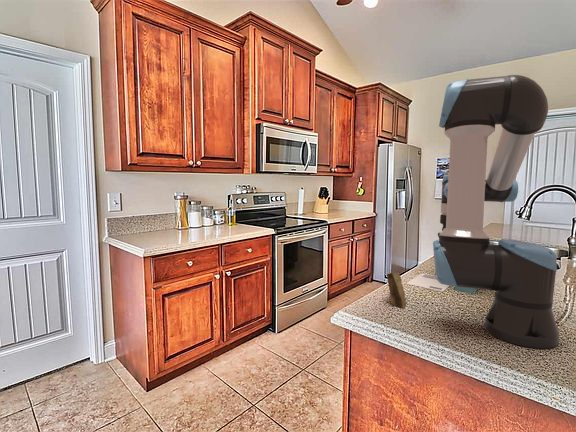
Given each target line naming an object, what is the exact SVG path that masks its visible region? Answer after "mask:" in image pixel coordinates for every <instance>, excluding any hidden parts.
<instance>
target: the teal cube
mask: <svg viewBox="0 0 576 432" xmlns="http://www.w3.org/2000/svg"><path fill="white" fill-rule="evenodd" d="M454 291H456V292H457V291H458V292H462V293H467V294H471V295H472V294H473V295H475V293H476V292H477V291H478V289H474V288H466V287H455V286H454Z"/></svg>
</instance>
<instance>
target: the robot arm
mask: <svg viewBox="0 0 576 432" xmlns="http://www.w3.org/2000/svg"><path fill="white" fill-rule="evenodd" d="M443 98H444V99H443V103H442V108H441V114H440V119H439V123H438V128H439V127H440V128H441V129H444V135H445V136H446V137H447V138H448V139H449V140H450V141H449V157H448V158H449V160H448V174H444V175H443V177H442V181H441V203H440V213H441V214H440V216H439V217H440V218H439V223H440V224H441V225H442V228H441V231H440V232H438V233H437V237H438V239H435V240H434V241H433V242H432V248H433V262H434V269H435V271H434V272H435V276H436V278H437V280H438V282H439V283H441V284H444V285H450V286H451V287H454V288H455V287H466V288H474V289H477V290H485V291H494V300H493V302H492V304H491V306H490V307H489V309H488V311H487V314H486V315H485V319H484V328H485V330H486V331H487V332H488V333H490V335H492V336H494V337H496V338H497V339H500V340H501V341H504V342H507V343H511V344H513V345H517V346H522V347H526V348H532V349H553V348H555V347H557V346H558V345H559V340H560V332H559V329H558V325H557V322H556V319H555V316H554V312H553V305H554V303H553V301H554V292H555V286H556V285H555V284H556V283H555V281H556V275H557V274H556V273H557V271H558V268H557V267H558V266H557V253H556V252H555V251H554V250H553V249H552V248H549V247H547V246H543V245H540V244H537V243H532V242H527V241H522V240H518V239H517V240H516V239H511V238H507V239H506V238H501V239H499V241H498V242H497V244H490V236H489V235H488V234H487V233H486V232H485V231H484V216H485V215H484V214H485V212H484V211H485V202H491V203H492V202H493V203H494V202H495V203H497V202H498V203H505V202H506V203H507V202H509V203H510V202H511V203H512V202H514V201H516V200H517V198H518V194H519V182H518V181H517V180H516V177H517V175H518V174H519V171H520V168H521V166H522V165H523V162H524V160H525V157H526V155H527V153H528V151H529V148H530V146H531V144H532V141H533V139H534V136H535V134H536V133H538V132H539V131H541V130H542V128H543V127H544V124H545V123H546V120H547V118H548V113H549V102H548V98H547V96H546V93H545V91H544V89H543V88H542V87H541V86H540V85H539V83H537V82H536V81H535V80H534V79H532V78H530V77H528V76H525V75H519V74H509V75H504V76H503V75H502V76H491V77H480V78H471V79H469V78H466V79H463V80H456V81H452V82H450V83H449V84H447V86H446V88H445V93H444V97H443ZM496 125H500V126H501V128H502V131H501V132H500V133H501V134H500V136H499V139H498V143H497V147H496V149H495V151H494V155H493V158H492V163H491V165H490V168H489V171H488V174H487V175H486V172H487V155H488V138H489V137H490V136H491V135H492V134H493V133H494V132H495V131H496ZM486 176H487V178H486ZM450 286H449V287H450Z"/></svg>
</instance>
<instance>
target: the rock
mask: <svg viewBox="0 0 576 432" xmlns="http://www.w3.org/2000/svg"><path fill="white" fill-rule="evenodd" d="M401 277H402V276H401V274H399V273H398V272H396V271H393V272H390V273H387V274H386V279H387V284H388V290H389V296H390V297H389V298H390V303H391V305H393V306H395V307H398V308H401V309H406V305H407V301H406V300H407V299H406V293H405V289H404V286H403V283H402V282H403V281H402V278H401Z"/></svg>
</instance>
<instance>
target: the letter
mask: <svg viewBox="0 0 576 432" xmlns="http://www.w3.org/2000/svg"><path fill="white" fill-rule="evenodd" d="M405 285H410V286H415V287H420V288H424V289H429V290H433V291H437V292H445V291H446V290H447V289H448V288H449V287H450V285H444V284H441V283H439V282H438V280H437V278H436V274H435V275H434V274H429V273H423V272H422V273H420V274H418V275H416V276H415V277H414V278H413V279H411V280H409V281H408V282H406V283H405Z"/></svg>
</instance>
